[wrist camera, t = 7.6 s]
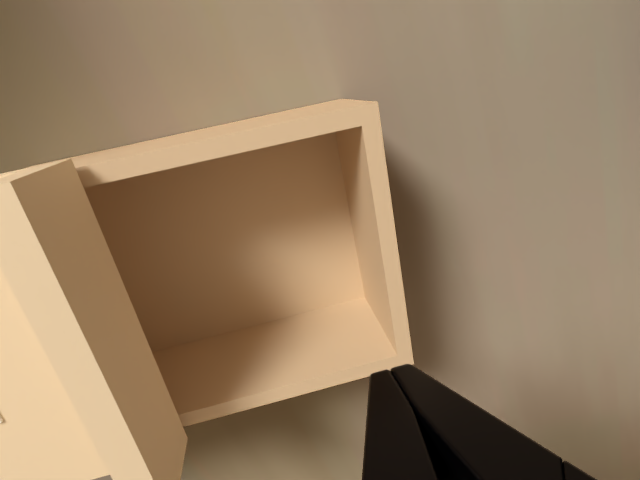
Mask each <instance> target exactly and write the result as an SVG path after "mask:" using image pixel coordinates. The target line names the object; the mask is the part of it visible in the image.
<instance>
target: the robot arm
mask: <svg viewBox="0 0 640 480" xmlns="http://www.w3.org/2000/svg"><path fill="white" fill-rule="evenodd" d="M362 480H597V479H595V478H593V477H592V476H590V475H588V474H587V473H585V472H583V471H582V470H580V469H579V468H577V467H575V466H574V465H572V464H571V463H569V462H567V461H564V462H562V459H561V458H560V457H559V456H557V455H556V454H554V453H553V452H551V451H549V450H548V449H546V448H544V447H543V446H541V445H540V444H538V443H536V442H535V441H533V440H532V439H530V438H528V437H527V436H525V435H524V434H522V433H520V432H519V431H517V430H516V429H514V428H512V427H511V426H509V425H507V424H506V423H504V422H503V421H501V420H499V419H498V418H496V417H495V416H493V415H491V414H490V413H488V412H487V411H485V410H483V409H482V408H480V407H479V406H477V405H475V404H474V403H472V402H470V401H469V400H467V399H466V398H464V397H462V396H461V395H459V394H458V393H456V392H454V391H453V390H451V389H450V388H448V387H446V386H445V385H443V384H442V383H440V382H438V381H437V380H435V379H433V378H432V377H430V376H429V375H427V374H425V373H424V372H422V371H421V370H419V369H417V368H416V367H414V366H413V365H411V364H404V365H400V366H396V367H393V368H391V370H387V369H385V370H382V371H378V372H374V373H372V374H371V375H370V379H369V393H368V406H367V419H366V433H365V446H364V459H363V473H362Z"/></svg>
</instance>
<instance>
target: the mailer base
mask: <svg viewBox="0 0 640 480" xmlns="http://www.w3.org/2000/svg"><path fill="white" fill-rule="evenodd" d="M66 159H72V161H73V164H74V166H75V168H76V171H77V173H78V176H79V178H80V181H81V183H82V185H83V188H84V190H85V193H86V195H87V197H88V200H89V202H90V205H91V207H92V209H93V212H94V214H95V217H96V219H97V221H98V224H99V226H100V229H101V231H102V233H103V236H104V238H105V241H106V243H107V245H108V248H109V250H110V253H111V255H112V257H113V260H114V262H115V265H116V267H117V269H118V272H119V274H120V277H121V279H122V281H123V284H124V286H125V289H126V291H127V293H128V296H129V298H130V301H131V303H132V305H133V308H134V310H135V313H136V315H137V318H138V320H139V322H140V325H141V327H142V330H143V332H144V334H145V337H146V339H147V342H148V344H149V346H150V349H151V351H152V354H153V356H154V358H155V361H156V363H157V366H158V368H159V370H160V373H161V375H162V378H163V380H164V382H165V385H166V387H167V390H168V392H169V394H170V397H171V399H172V402H173V404H174V406H175V409H176V411H177V414H178V416H179V418H180V421H181V423H182V426H183V427H186V426H190V425H193V424H197V423H200V422H204V421H208V420H211V419H215V418H219V417H222V416H226V415H230V414H233V413H237V412H241V411H244V410H248V409H252V408H255V407H259V406H263V405H266V404H270V403H273V402H277V401H281V400H284V399H288V398H292V397H295V396H299V395H303V394H306V393H310V392H314V391H317V390H321V389H325V388H328V387H332V386H336V385H339V384H343V383H347V382H350V381H354V380H357V379H361V378H365V377H368V376H370V375H371V374H372V373H374V372H378V371H382V370H385V369H387V370H391V368H393V367H396V366H400V365H404V364H411V365H412V364H414V361H413V354H412V346H411V339H410V332H409V325H408V317H407V310H406V303H405V296H404V289H403V281H402V274H401V267H400V260H399V252H398V245H397V238H396V231H395V223H394V216H393V209H392V202H391V194H390V187H389V180H388V173H387V165H386V158H385V151H384V144H383V137H382V129H381V122H380V115H379V108H378V102H374V101H362V100H350V99H338V100H333V101H328V102H324V103H319V104H315V105H310V106H305V107H301V108H296V109H291V110H287V111H282V112H278V113H273V114H268V115H264V116H259V117H255V118H250V119H245V120H241V121H236V122H231V123H227V124H222V125H218V126H213V127H208V128H204V129H199V130H195V131H190V132H185V133H181V134H176V135H172V136H167V137H162V138H158V139H153V140H148V141H144V142H139V143H135V144H130V145H125V146H121V147H116V148H112V149H107V150H102V151H98V152H93V153H88V154H84V155H79V156H75V157H70V158H65V159H61V160H56V161H52V162H47V163H42V164H38V165H33V166H30V167H34V166H39V165H43V164H48V163H53V162H57V161H62V160H66ZM30 167H27V168H30ZM24 169H25V168H24Z"/></svg>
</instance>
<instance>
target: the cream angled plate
mask: <svg viewBox="0 0 640 480" xmlns="http://www.w3.org/2000/svg"><path fill="white" fill-rule="evenodd" d="M187 440H188V438H187V435H186V433H185V430H184V428H183V426H182V423H181V421H180V418H179V416H178V414H177V411H176V409H175V406H174V404H173V402H172V399H171V397H170V394H169V392H168V390H167V387H166V385H165V382H164V380H163V378H162V375H161V373H160V370H159V368H158V366H157V363H156V361H155V358H154V356H153V354H152V351H151V349H150V346H149V344H148V342H147V339H146V337H145V334H144V332H143V330H142V327H141V325H140V322H139V320H138V318H137V315H136V313H135V310H134V308H133V305H132V303H131V301H130V298H129V296H128V293H127V291H126V289H125V286H124V284H123V281H122V279H121V277H120V274H119V272H118V269H117V267H116V265H115V262H114V260H113V257H112V255H111V253H110V250H109V248H108V245H107V243H106V241H105V238H104V236H103V233H102V231H101V229H100V226H99V224H98V221H97V219H96V217H95V214H94V212H93V209H92V207H91V205H90V202H89V200H88V197H87V195H86V193H85V190H84V188H83V185H82V183H81V181H80V178H79V176H78V173H77V171H76V168H75V166H74V164H73V161H72V159H66V160H62V161H57V162H53V163H48V164H43V165H39V166H34V167H30V168H25V169H20V170H16V171H11V172H6V173H2V174H0V480H93V479H96V478H99V477H103V476H107V475H110V476H111V478H112V480H181V474H182V468H183V463H184V457H185V451H186V446H187Z"/></svg>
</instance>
